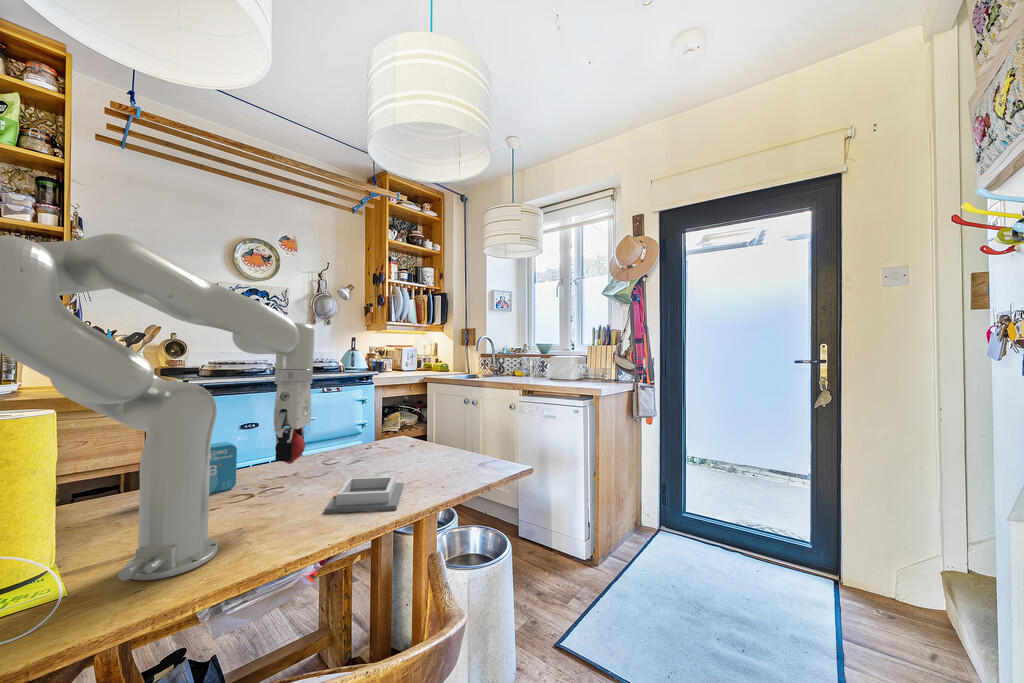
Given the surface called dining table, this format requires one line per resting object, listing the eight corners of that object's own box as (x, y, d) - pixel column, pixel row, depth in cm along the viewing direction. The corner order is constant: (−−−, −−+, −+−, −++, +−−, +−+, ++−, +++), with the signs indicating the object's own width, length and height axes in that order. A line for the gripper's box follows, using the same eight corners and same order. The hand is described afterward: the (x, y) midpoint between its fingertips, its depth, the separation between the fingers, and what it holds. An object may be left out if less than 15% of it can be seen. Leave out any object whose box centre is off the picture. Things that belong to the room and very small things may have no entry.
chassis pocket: (396, 509, 94) (396, 494, 94) (324, 513, 92) (324, 498, 92) (403, 486, 110) (403, 473, 110) (342, 488, 108) (342, 475, 108)
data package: (178, 500, 98) (179, 451, 98) (175, 496, 101) (176, 448, 101) (236, 488, 107) (237, 443, 107) (231, 484, 110) (232, 440, 110)
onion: (294, 467, 87) (296, 430, 88) (268, 466, 87) (270, 429, 88) (308, 461, 93) (310, 426, 93) (284, 460, 93) (286, 425, 93)
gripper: (297, 379, 83) (293, 467, 82) (323, 375, 100) (319, 448, 99) (258, 378, 82) (253, 467, 81) (290, 375, 99) (286, 448, 98)
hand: (289, 456), depth 90 cm, fingers closed on onion, 5 cm apart
